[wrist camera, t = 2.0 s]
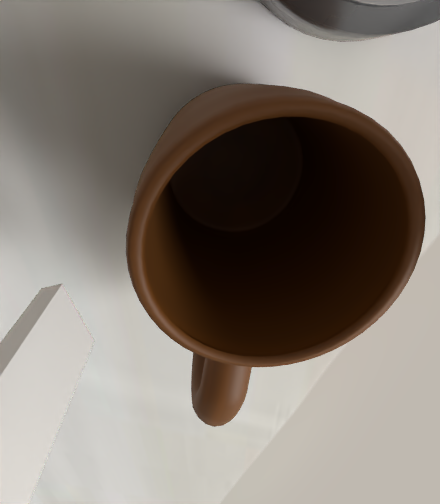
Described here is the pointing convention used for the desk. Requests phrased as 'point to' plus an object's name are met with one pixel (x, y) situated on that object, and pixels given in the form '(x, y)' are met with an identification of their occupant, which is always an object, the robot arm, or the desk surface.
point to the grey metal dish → (354, 17)
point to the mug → (270, 233)
